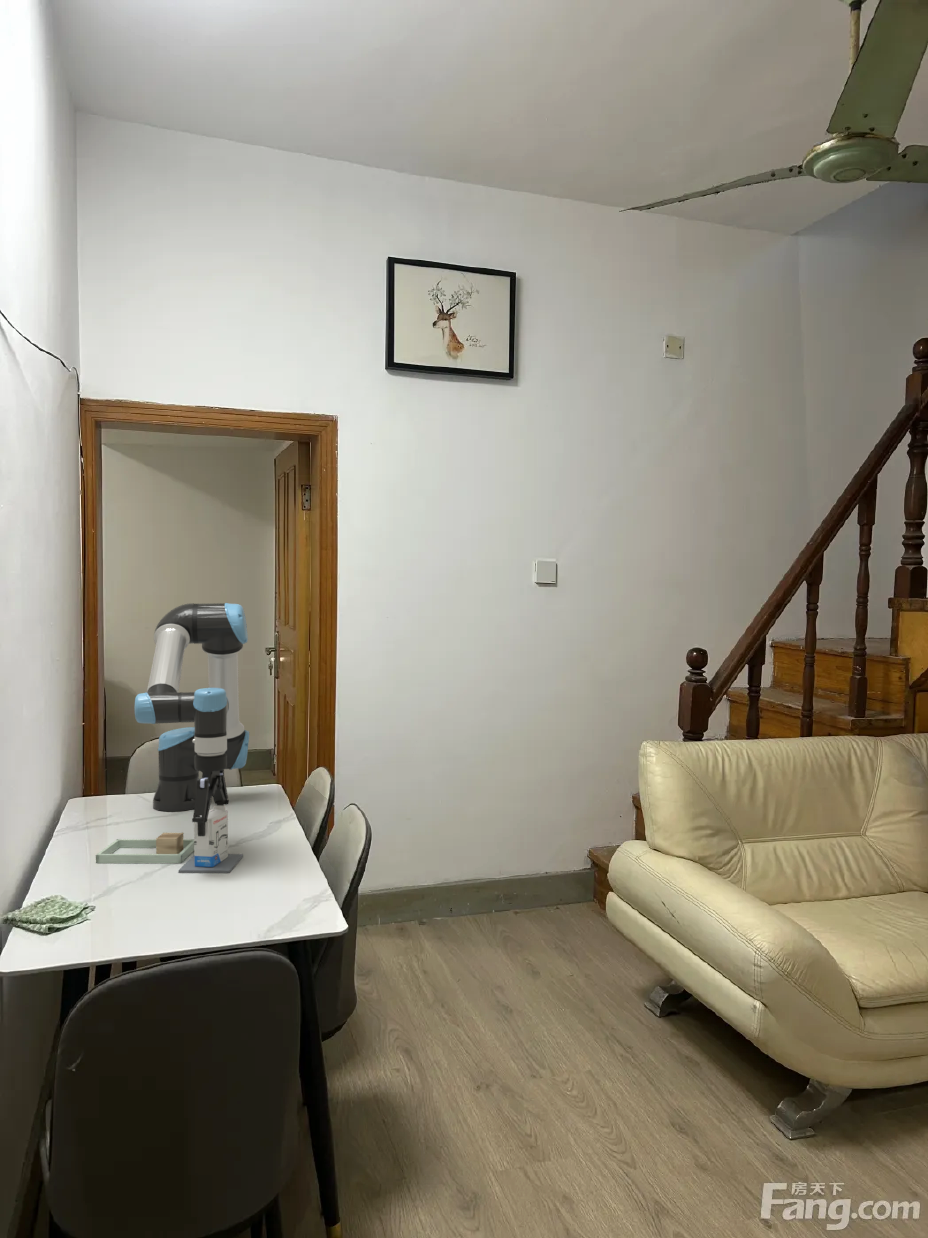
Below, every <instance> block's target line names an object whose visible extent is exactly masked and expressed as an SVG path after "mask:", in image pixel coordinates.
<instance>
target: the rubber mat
mask: <svg viewBox="0 0 928 1238" xmlns="http://www.w3.org/2000/svg"><path fill="white" fill-rule="evenodd" d="M243 857H244V853H228V857H227V858H226V859H224V860H223V861H221V862H220V863H218V864H217V865H215V866H214V867H198V866H195V860H194V854H193V855H192V856H191V857H190V858H189V859H188V860H187V861H186V862H185V863H184V864H183V865H182V866H181V867H180V868H179V869H178V874H230V873H231V872H232V870H234V869H235V868H236V865H238V864H239V862H240V861H241V860H242V858H243Z"/></svg>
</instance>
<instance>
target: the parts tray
mask: <svg viewBox="0 0 928 1238" xmlns="http://www.w3.org/2000/svg"><path fill="white" fill-rule="evenodd" d="M118 849H156V838H151V839H149V838H148V839H147V838H145V839H144V838H136V839H135V838H127V839H126V838H123V839H122V838H117V839H115V840H114V841H113V842H111V843H110V844H109V845H107V846H105V848H103V849H101V850H100V851H99V852H98V853H96V854H95V864H182V863H183V862H184V860H185V859H187V858H188V857H189V856H190V855H191V854H192V853H194V838H193V839H190V838H189V839H188V838H186V839H185V838H183V850H182V851H181V852H180V853H179V854H156V853H114V852H115V851H117V850H118Z"/></svg>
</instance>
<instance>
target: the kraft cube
mask: <svg viewBox="0 0 928 1238" xmlns="http://www.w3.org/2000/svg"><path fill="white" fill-rule="evenodd" d="M155 839H156V848H155V849H156V850H155V852H156V853H155V854H179V853H180V852H181V851H182V850H183V849H184V848H183V839H184V832H162V833H161V834H160V835H159V836H158V837H156V838H155Z"/></svg>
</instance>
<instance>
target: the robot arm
mask: <svg viewBox="0 0 928 1238" xmlns="http://www.w3.org/2000/svg"><path fill="white" fill-rule="evenodd" d="M244 609H245V608H244V607H243V605H241V604H238V603H228V602H225V603H220V602H218V603H191V602H190V603H185V604H184V603H183V604H181V605H178V606H176V607H175V608H173V609H171V610H170V611H168V612H167V613H166V614H165V615H164V616H163V617H162V618H161V619H159V622H158V623H157V624H156V626H155V630H154V633H153V642H154V644H155V649H154V654H153V659H152V663H151V664H152V665H151V669H150V674H149V679H148V684H147V689H146V692H143V693H138V694H136V696H135V699H134V717H135V718H134V719H135V720H136V722H137V723H139V724H151V725H155V724H158V725H159V724H175V723H176V724H178V723H181V724H182V723H183V724H184V723H194V726H193V727H192V726H191V727H189V726H188V727H180V728H176V729H175V728H174V729H171V730H168V731H164V733H162V734H160V736H159V737H158V748H157V752H158V784H157V786H156V789H155V792H154V795H153V798H152V808H153V809H154V810H157V811H161V812H182V811H188V810H193V809H194V810H193V817H192V818H191V821H192V823H194V822H196V841H197V849H209V821H207V819H208V814H209V810H210V808H211V803H212V798H213V802H214V805H213V809H215V810H226V805H229V803H230V801H229V795H228V790H227V784H226V779H225V777H226V776H225V770H230V771H231V770H233V769H242V768H244V767H245V766H246V764H247V759H248V754H249V753H248V750H249V742H250V731H249V730H246V729H245V725H244V724H243V723H242V722H241V721H240V697H239V696H240V695H239V694H240V693H239V655H238V654H239V653H240V652H242V650H243V648H244V644H246V643H248V641H249V635H248V629H247V628H248V625H247V619H246V618H247V617H246V614H245V610H244ZM190 644H194V645H199V644H200V645H201V650H202V652H203V653H206V655H207V669H208V670H207V673H208V674H207V675H208V687H205V688H204V687H203V688H199V689H196V690H195V691H192V692H191V691H190V692H189V691H188V692H187V691H185V692H182V691H181V692H180V683H181V677H182V671H183V669H182V668H183V664H184V656H185V655H184V654H185V649H187V647H188V646H189V645H190ZM200 772H201V773H202V774H201V778H200Z"/></svg>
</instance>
